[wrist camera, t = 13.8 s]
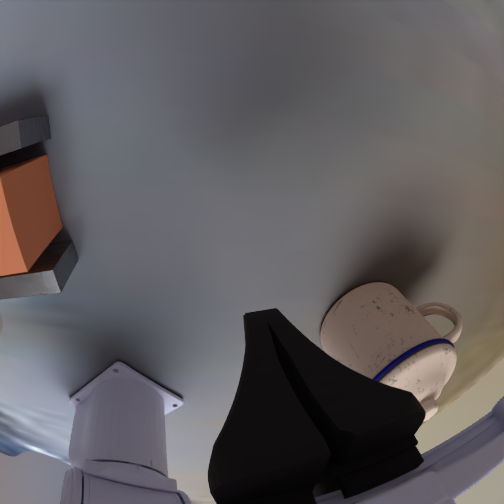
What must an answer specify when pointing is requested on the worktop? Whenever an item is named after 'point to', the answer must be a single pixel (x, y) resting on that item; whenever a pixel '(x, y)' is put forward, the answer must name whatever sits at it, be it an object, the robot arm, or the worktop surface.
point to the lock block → (26, 214)
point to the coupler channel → (55, 255)
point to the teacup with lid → (392, 341)
